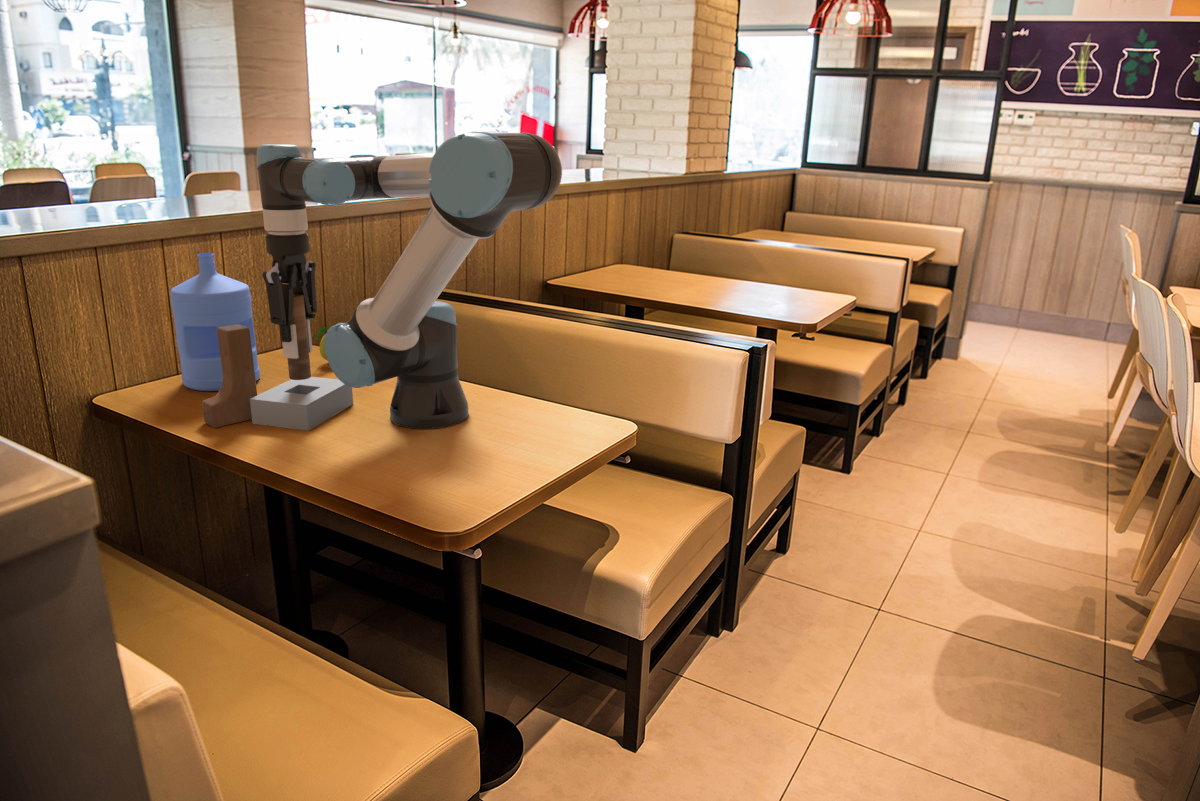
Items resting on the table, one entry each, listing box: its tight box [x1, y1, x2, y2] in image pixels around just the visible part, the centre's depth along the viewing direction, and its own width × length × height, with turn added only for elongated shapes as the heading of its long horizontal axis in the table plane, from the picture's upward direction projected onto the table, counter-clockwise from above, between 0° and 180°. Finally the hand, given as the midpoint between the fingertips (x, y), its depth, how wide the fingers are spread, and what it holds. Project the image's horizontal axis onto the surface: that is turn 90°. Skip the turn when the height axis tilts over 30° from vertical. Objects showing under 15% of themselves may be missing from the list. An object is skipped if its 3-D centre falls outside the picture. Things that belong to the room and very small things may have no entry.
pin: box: [286, 294, 312, 380], centre depth 158 cm, size 4×4×16 cm
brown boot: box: [201, 324, 258, 429], centre depth 156 cm, size 9×4×18 cm, turn 137°
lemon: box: [315, 322, 331, 362], centre depth 195 cm, size 7×6×10 cm
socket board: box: [250, 376, 354, 431], centre depth 162 cm, size 16×12×5 cm
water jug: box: [169, 252, 261, 392], centre depth 177 cm, size 16×16×28 cm
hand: (298, 354), depth 159 cm, fingers closed on pin, 4 cm apart
